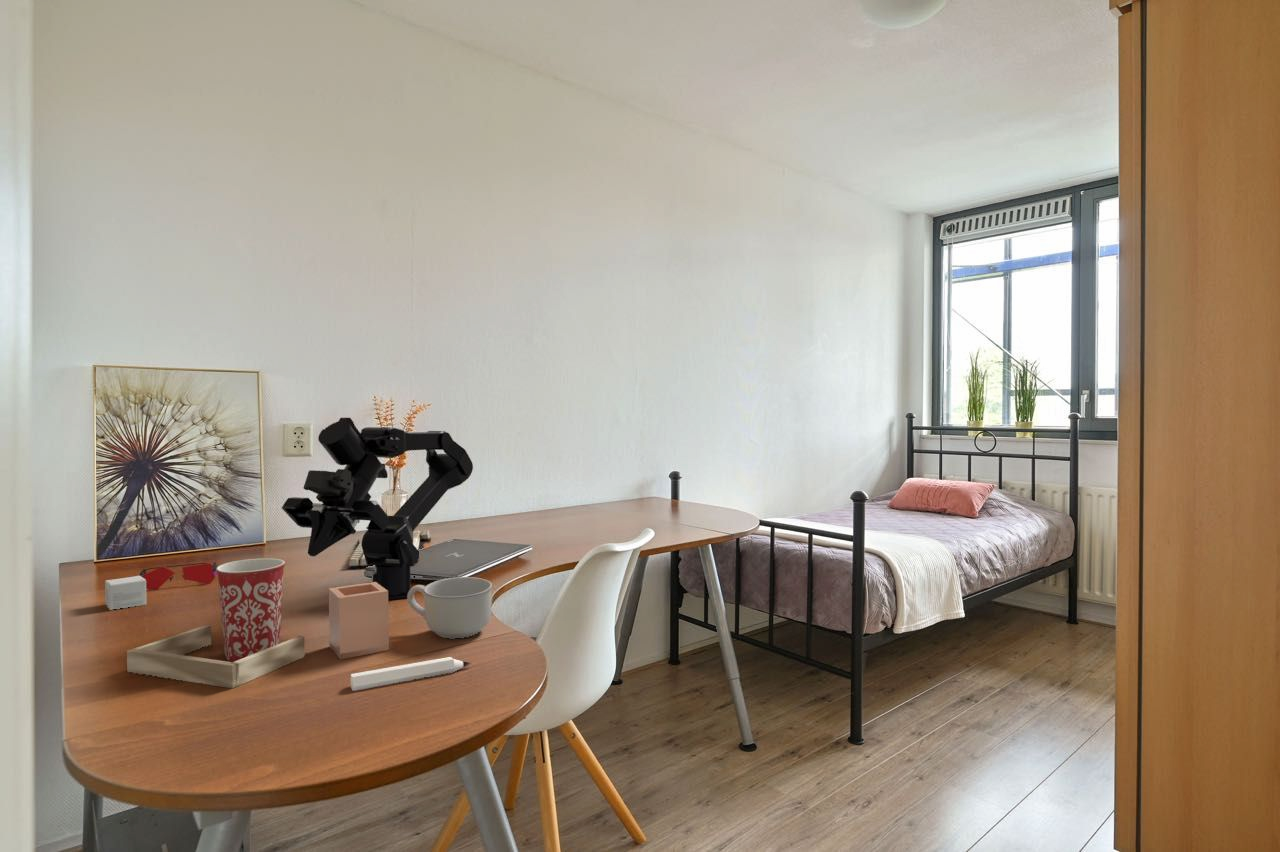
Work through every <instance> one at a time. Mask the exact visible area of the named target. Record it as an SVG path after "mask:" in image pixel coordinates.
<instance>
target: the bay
mask: <svg viewBox="0 0 1280 852" xmlns="http://www.w3.org/2000/svg"><path fill="white" fill-rule="evenodd" d="M208 645H209V646H212V625H210V624H209V625H208V624H205V625H202V626H199V627H195V628H193V629H189V630H187V631H184V632H181V633H177V634H174V635H171V636H169V637H165V638H162V639H159V640H156V641H154V642H150V643H148V644H147V643H146V644H144V645H141V646H137V647H135V648H131V649H128V650H126V665H127V666H126V669H127V670H126V671H128V672H127V673H129V672H133V673H132V674H136V673H138V674H137V675H142V674H146V675H145V676H149V675H152V676H151V677H155V676H157V677H156V678H162V677H163V678H164V679H168V678H170V680H175V679H176V680H177V681H181V680H182V682H190V683H195V684H201V683H202V685H210V686H216V687H222V688H229V689H234V688H237V687H239V686H241V685H244V684H246V683H248V682H250V681H253V680H255V679H258V678H260V677H261V676H264V675H267V674H269V673H271V672H274V671H275V670H277V669H280V668H282V667H284V666H287V665H289V664H291V663H294V662H296V661H298V660H300V659H303V658H305V655H306V653H305V636H300V635H298V636H295V637H293V638H290V639H288V640H285V641H283V642H280V644H277V645H275V646H272V647H270V648H267V649H265V650H262V651H260V652H257V653H255V654H252V655H250V656H247V657H245V658H242V659H240V660H237V661H235V662H233V661H228V660H218V659H211V658H205V657H204V658H203V657H199V656H198V657H197V656H192V655H186V653H187V654H190V653H192V651H193V652H195V651H198V650H201V649H203V648H202V647H204V648H206V647H209V646H208ZM205 646H206V647H205ZM200 648H201V649H200ZM197 649H198V650H197ZM189 652H190V653H189ZM183 654H184V655H183ZM176 680H175V681H176Z"/></svg>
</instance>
